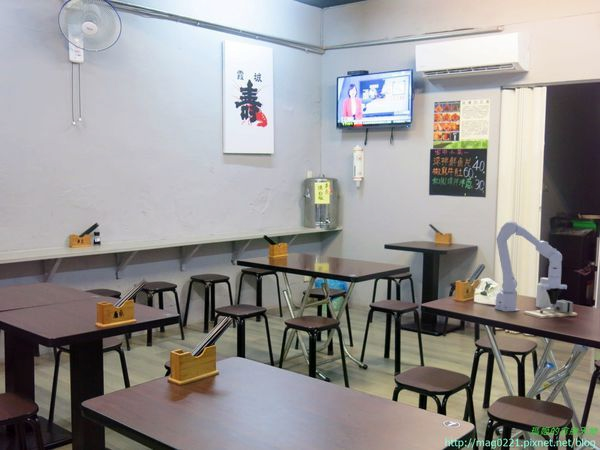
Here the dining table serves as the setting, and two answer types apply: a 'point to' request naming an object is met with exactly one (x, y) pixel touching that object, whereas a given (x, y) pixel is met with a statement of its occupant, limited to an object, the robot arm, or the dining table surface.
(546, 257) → the robot arm
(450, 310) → the dining table surface
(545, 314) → the bolt board
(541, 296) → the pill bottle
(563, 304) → the grey block with hole
